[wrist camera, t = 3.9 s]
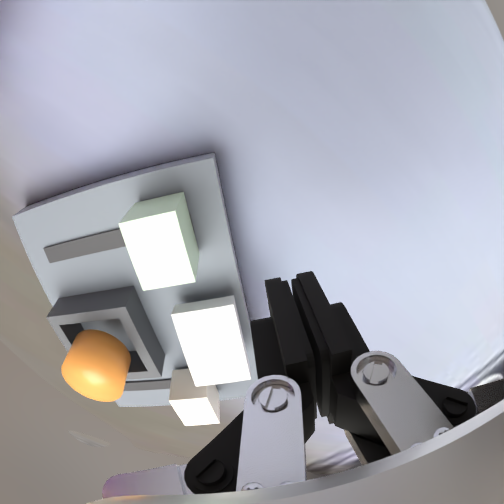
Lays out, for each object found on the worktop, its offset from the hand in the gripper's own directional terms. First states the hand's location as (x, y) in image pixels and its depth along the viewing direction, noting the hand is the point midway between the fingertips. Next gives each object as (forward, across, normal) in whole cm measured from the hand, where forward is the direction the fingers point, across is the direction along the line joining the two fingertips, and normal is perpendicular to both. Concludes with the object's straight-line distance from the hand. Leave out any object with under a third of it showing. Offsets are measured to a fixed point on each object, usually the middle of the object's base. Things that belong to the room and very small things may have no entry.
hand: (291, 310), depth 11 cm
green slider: (+8, +6, -1) cm, 10 cm away
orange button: (+6, +13, +6) cm, 15 cm away
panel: (+11, +10, +6) cm, 16 cm away
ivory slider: (+9, +8, +13) cm, 17 cm away
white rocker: (+7, +5, +7) cm, 11 cm away
